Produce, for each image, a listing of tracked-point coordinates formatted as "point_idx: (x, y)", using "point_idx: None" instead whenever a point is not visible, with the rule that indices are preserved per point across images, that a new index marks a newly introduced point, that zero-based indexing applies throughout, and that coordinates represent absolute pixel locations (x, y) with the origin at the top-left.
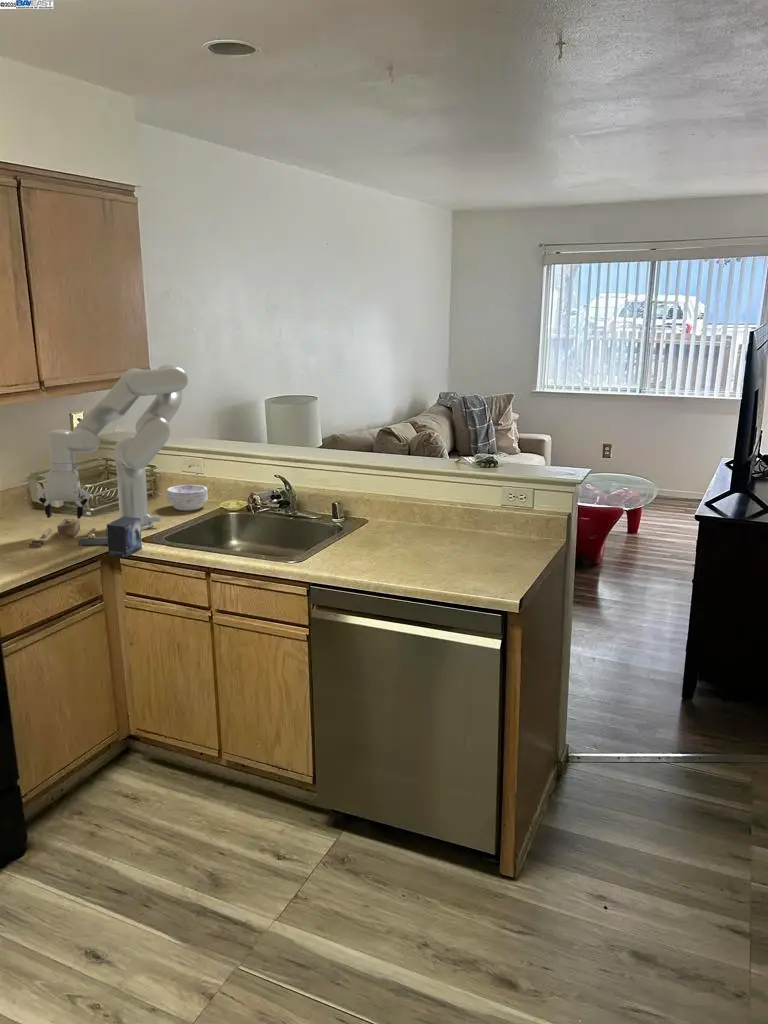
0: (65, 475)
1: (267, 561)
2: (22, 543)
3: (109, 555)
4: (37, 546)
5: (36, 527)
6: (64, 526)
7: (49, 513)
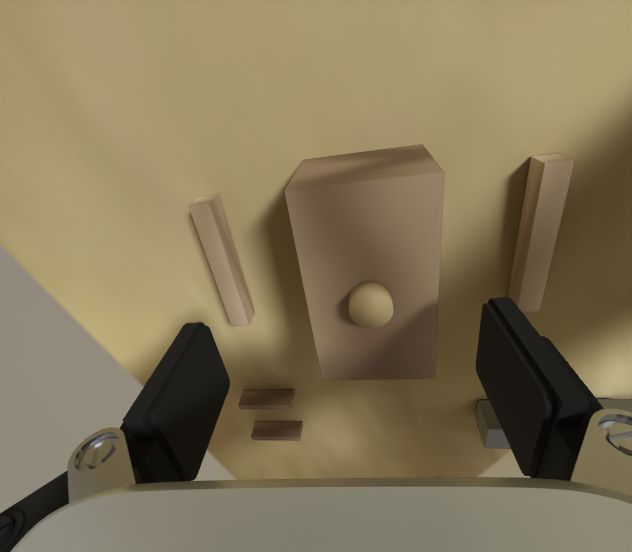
0: None
1: None
2: None
3: None
4: (290, 427)
5: (27, 67)
6: (371, 376)
7: (217, 408)
